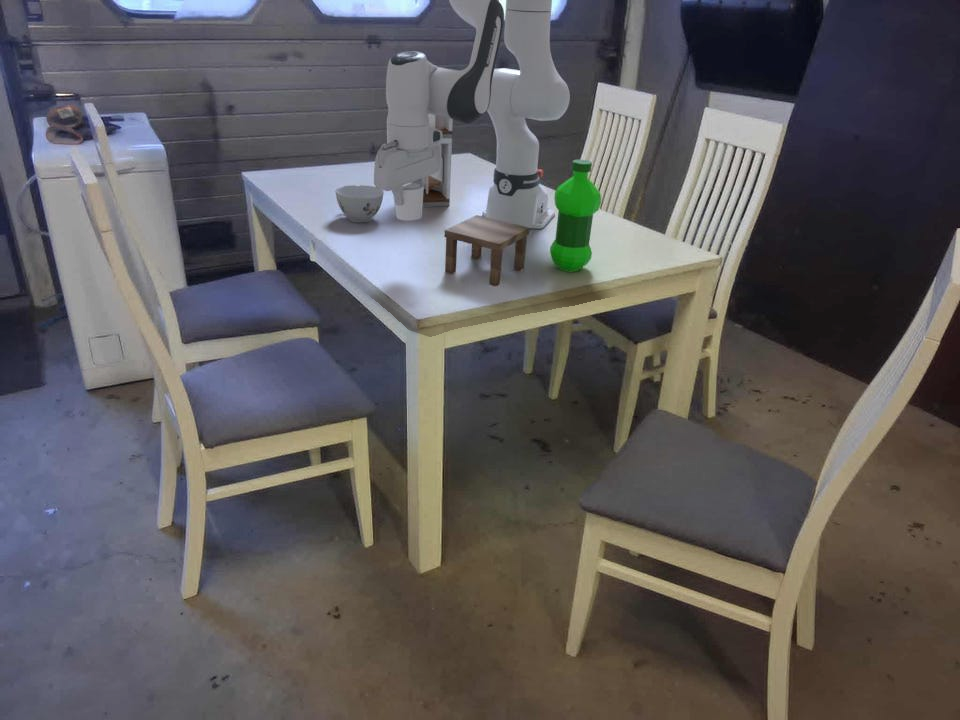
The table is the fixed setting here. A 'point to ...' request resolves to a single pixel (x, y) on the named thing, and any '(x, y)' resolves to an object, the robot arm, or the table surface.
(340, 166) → the table surface
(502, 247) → the wooden stool
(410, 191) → the white cup
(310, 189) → the table surface
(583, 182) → the plastic bottle
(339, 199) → the teacup
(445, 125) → the display case
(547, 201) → the robot arm
